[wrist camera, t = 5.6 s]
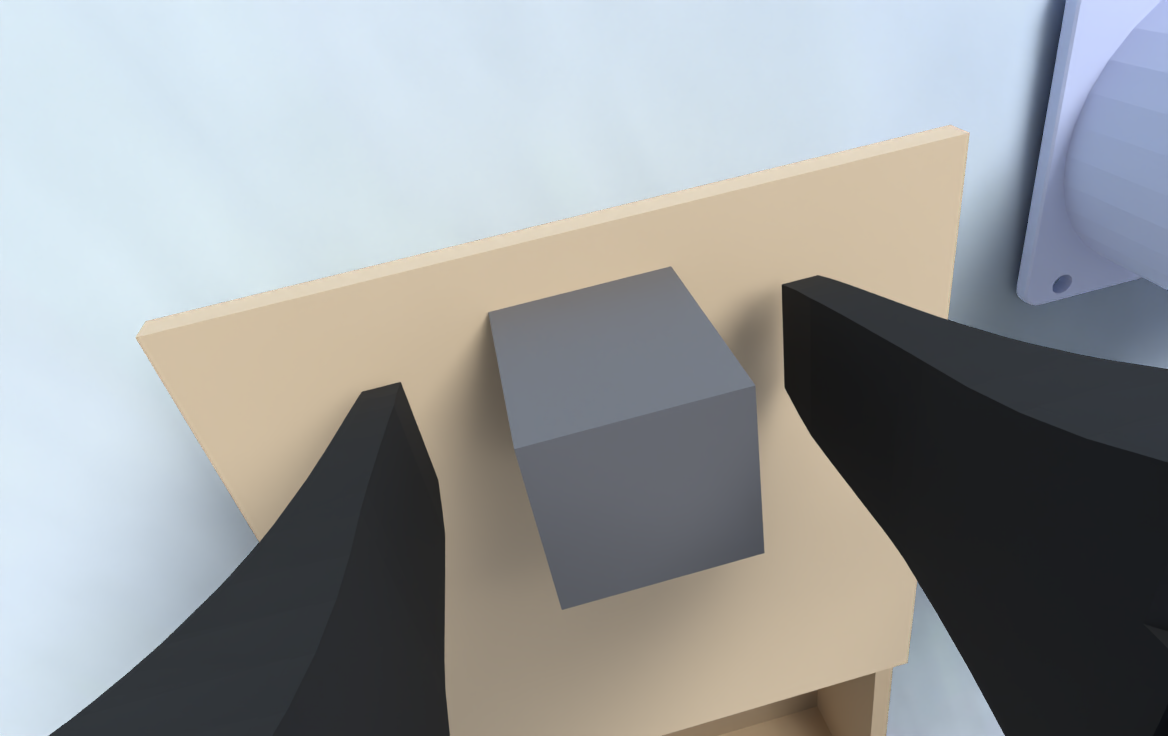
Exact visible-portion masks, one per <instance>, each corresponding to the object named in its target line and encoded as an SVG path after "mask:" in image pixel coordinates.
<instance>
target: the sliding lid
mask: <svg viewBox="0 0 1168 736" xmlns="http://www.w3.org/2000/svg"><path fill="white" fill-rule="evenodd" d="M968 142H969V132H966V131H964V130H962V129H959V128H957V127H954V126H952V125H948V126H943V127H939V128H935V129H931V130H927V131H923V132H919V133H915V134H911V135H907V136H902V137H898V138H894V139H890V140H886V141H882V142H878V143H874V144H870V145H866V146H861V147H857V148H853V149H849V150H845V151H841V152H837V153H833V154H829V155H825V156H821V157H816V158H812V159H808V160H804V161H800V162H796V163H792V164H788V165H784V166H780V167H775V168H771V169H767V170H763V171H759V172H755V173H751V174H747V175H743V176H739V177H735V178H730V179H726V180H722V181H718V182H714V183H710V184H706V185H702V186H698V187H694V188H689V189H685V190H681V191H677V192H673V193H669V194H665V195H661V196H657V197H653V198H649V199H644V200H640V201H636V202H632V203H628V204H624V205H620V206H616V207H612V208H608V209H603V210H599V211H595V212H591V213H587V214H583V215H579V216H575V217H571V218H567V219H563V220H558V221H554V222H550V223H546V224H542V225H538V226H534V227H530V228H526V229H522V230H517V231H513V232H509V233H505V234H501V235H497V236H493V237H489V238H485V239H481V240H477V241H472V242H468V243H464V244H460V245H456V246H452V247H448V248H444V249H440V250H436V251H431V252H427V253H423V254H419V255H415V256H411V257H407V258H403V259H399V260H395V261H391V262H386V263H382V264H378V265H374V266H370V267H366V268H362V269H358V270H354V271H350V272H345V273H341V274H337V275H333V276H329V277H325V278H321V279H317V280H313V281H309V282H305V283H300V284H296V285H292V286H288V287H284V288H280V289H276V290H272V291H268V292H264V293H259V294H255V295H251V296H247V297H243V298H239V299H235V300H231V301H227V302H223V303H219V304H214V305H210V306H206V307H202V308H198V309H194V310H190V311H186V312H182V313H178V314H173V315H169V316H165V317H161V318H157V319H153V320H149V321H146V322H145V323H144V325H143V326H142V328H141V330H140V331H139V333H138V334H137V336H136V339H137V341H138V343H139V344H140V346H141V348H142V349H143V351H144V352H145V354H146V356H147V357H148V359H149V361H150V362H151V364H152V366H153V367H154V369H155V371H156V372H157V374H158V376H159V377H160V379H161V381H162V382H163V384H164V386H165V387H166V389H167V391H168V392H169V394H170V395H171V397H172V399H173V400H174V402H175V404H176V405H177V407H178V409H179V410H180V412H181V414H182V415H183V417H184V419H185V420H186V422H187V424H188V425H189V427H190V429H191V430H192V432H193V434H194V435H195V437H196V438H197V440H198V442H199V443H200V445H201V447H202V448H203V450H204V452H205V453H206V455H207V457H208V458H209V460H210V462H211V463H212V465H213V467H214V468H215V470H216V472H217V473H218V475H219V477H220V478H221V480H222V482H223V483H224V485H225V486H226V488H227V490H228V491H229V493H230V495H231V496H232V498H233V500H234V501H235V503H236V505H237V506H238V508H239V510H240V511H241V513H242V515H243V516H244V518H245V520H246V521H247V523H248V525H249V526H250V528H251V529H252V531H253V533H254V534H255V536H256V538H257V539H258V541H259V542H260V541H261V540H262V538H263V537H264V536H265V535H266V533H267V532H268V531H269V530H270V528H271V527H272V526H273V525H274V523H275V522H276V521H277V519H278V518H279V516H280V515H281V514H282V512H283V511H284V510H285V508H286V507H287V505H288V504H289V503H290V501H291V500H292V499H293V497H294V496H295V494H296V493H297V492H298V490H299V489H300V488H301V486H302V485H303V483H304V482H305V481H306V479H307V478H308V476H309V475H310V473H311V472H312V470H313V469H314V467H315V465H316V464H317V462H318V461H319V459H320V458H321V456H322V455H323V453H324V452H325V450H326V448H327V447H328V445H329V444H330V442H331V440H332V439H333V437H334V436H335V434H336V432H337V431H338V429H339V427H340V426H341V424H342V422H343V421H344V419H345V417H346V416H347V414H348V413H349V411H350V409H351V408H352V406H353V405H354V403H355V401H356V400H357V398H358V397H359V395H360V394H361V392H363V391H366V390H370V389H374V388H378V387H382V386H386V385H390V384H394V383H398V382H401V384H402V386H403V389H404V391H405V394H406V397H407V399H408V402H409V405H410V407H411V410H412V412H413V415H414V418H415V420H416V423H417V425H418V428H419V431H420V433H421V436H422V438H423V441H424V444H425V446H426V449H427V451H428V454H429V457H430V459H431V462H432V465H433V467H434V470H435V472H436V475H437V478H438V481H439V488H440V496H441V503H442V511H443V519H444V528H445V660H444V662H445V689H446V700H447V710H448V721H449V731H450V736H662V735H666V734H669V733H672V732H676V731H679V730H683V729H686V728H689V727H693V726H696V725H699V724H703V723H706V722H710V721H713V720H716V719H720V718H723V717H727V716H730V715H733V714H737V713H740V712H743V711H747V710H750V709H754V708H757V707H760V706H764V705H767V704H771V703H774V702H777V701H781V700H784V699H787V698H791V697H794V696H798V695H801V694H804V693H808V692H811V691H815V690H818V689H821V688H825V687H828V686H831V685H835V684H838V683H842V682H845V681H848V680H852V679H855V678H858V677H862V676H865V675H869V674H872V673H875V672H879V671H882V670H886V669H889V668H892V667H896V666H899V665H902V664H906V663H908V655H909V646H910V638H911V629H912V621H913V612H914V603H915V595H916V586H917V579H916V578H915V576H914V575H913V573H912V571H911V570H910V568H909V566H908V565H907V563H906V561H905V560H904V558H903V557H902V556H901V554H900V553H899V551H898V550H897V548H896V547H895V546H894V544H893V543H892V541H891V540H890V538H889V537H888V536H887V534H886V533H885V532H884V530H883V529H882V528H881V527H880V525H879V524H878V523H877V521H876V520H875V519H874V518H873V516H872V515H871V514H870V512H869V511H868V510H867V508H866V507H865V506H864V505H863V503H862V502H861V501H860V499H859V498H858V497H857V496H856V494H855V493H854V492H853V490H852V489H851V488H850V486H849V485H848V484H847V483H846V481H845V480H844V479H843V477H842V476H841V475H840V474H839V472H838V471H837V470H836V468H835V467H834V466H833V464H832V463H831V462H830V460H829V459H828V458H827V456H826V455H825V454H824V452H823V451H822V450H821V449H820V447H819V446H818V444H817V443H816V442H815V440H814V439H813V438H812V436H811V435H810V433H809V431H808V430H807V428H806V426H805V424H804V423H803V421H802V419H801V418H800V416H799V414H798V412H797V410H796V408H795V407H794V405H793V403H792V401H791V399H790V397H789V395H788V394H787V392H786V390H785V388H784V355H783V319H782V284H785V283H789V282H793V281H797V280H801V279H805V278H809V277H813V276H816V275H820V276H823V277H827V278H831V279H834V280H837V281H840V282H843V283H846V284H849V285H852V286H854V287H857V288H860V289H863V290H866V291H868V292H871V293H874V294H876V295H879V296H882V297H885V298H887V299H890V300H893V301H896V302H898V303H901V304H904V305H907V306H909V307H912V308H915V309H918V310H921V311H923V312H926V313H929V314H932V315H935V316H938V317H941V318H944V319H947V320H948V313H949V304H950V296H951V287H952V279H953V270H954V262H955V253H956V244H957V236H958V227H959V219H960V210H961V202H962V193H963V185H964V176H965V168H966V159H967V150H968Z"/></svg>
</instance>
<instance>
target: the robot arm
mask: <svg viewBox="0 0 1168 736" xmlns="http://www.w3.org/2000/svg"><path fill="white" fill-rule="evenodd" d="M1059 277H1060V278H1059ZM1058 278H1059V280H1058V281H1057V282H1056V283H1055V284H1054V282H1055V281H1056V280H1057V279H1058ZM1140 278H1144V279H1146V280H1148V281H1150V282H1152V283H1154V284H1156V285H1158V286H1160V287H1162V288H1164V289H1165V290H1167V291H1168V0H1066V4H1065V10H1064V16H1063V22H1062V27H1061V33H1060V39H1059V45H1058V51H1057V56H1056V62H1055V68H1054V74H1053V80H1052V85H1051V91H1050V97H1049V103H1048V109H1047V114H1046V120H1045V126H1044V132H1043V138H1042V143H1041V149H1040V155H1039V161H1038V167H1037V172H1036V178H1035V184H1034V190H1033V196H1032V201H1031V207H1030V213H1029V219H1028V225H1027V230H1026V236H1025V242H1024V248H1023V253H1022V259H1021V265H1020V271H1019V277H1018V282H1017V295H1018V296H1019V298H1020V299H1022V300H1023V301H1025V302H1026V303H1028V304H1030V305H1033V306H1034V305H1042V304H1045V303H1049V302H1053V301H1057V300H1060V299H1064V298H1068V297H1072V296H1076V295H1079V294H1083V293H1087V292H1091V291H1095V290H1098V289H1102V288H1106V287H1110V286H1113V285H1117V284H1121V283H1125V282H1129V281H1132V280H1136V279H1140ZM782 319H783V355H784V388H785V390H786V392H787V394H788V395H789V397H790V399H791V401H792V403H793V405H794V407H795V408H796V410H797V412H798V414H799V416H800V418H801V419H802V421H803V423H804V424H805V426H806V428H807V430H808V431H809V433H810V435H811V436H812V438H813V439H814V440H815V442H816V443H817V444H818V446H819V447H820V449H821V450H822V451H823V452H824V454H825V455H826V456H827V458H828V459H829V460H830V462H831V463H832V464H833V466H834V467H835V468H836V470H837V471H838V472H839V474H840V475H841V476H842V477H843V479H844V480H845V481H846V483H847V484H848V485H849V486H850V488H851V489H852V490H853V492H854V493H855V494H856V496H857V497H858V498H859V499H860V501H861V502H862V503H863V505H864V506H865V507H866V508H867V510H868V511H869V512H870V514H871V515H872V516H873V518H874V519H875V520H876V521H877V523H878V524H879V525H880V527H881V528H882V529H883V530H884V532H885V533H886V534H887V536H888V537H889V538H890V540H891V541H892V543H893V544H894V546H895V547H896V548H897V550H898V551H899V553H900V554H901V556H902V557H903V558H904V560H905V561H906V563H907V565H908V566H909V568H910V570H911V571H912V573H913V575H914V576H915V578H916V579H917V581H918V583H919V584H920V586H921V588H922V589H923V591H924V593H925V594H926V596H927V598H928V599H929V601H930V602H931V604H932V606H933V607H934V609H935V611H936V612H937V614H938V616H939V618H940V619H941V621H942V623H943V624H944V626H945V628H946V630H947V631H948V633H949V635H950V637H951V638H952V640H953V642H954V644H955V645H956V647H957V649H958V651H959V652H960V654H961V656H962V658H963V659H964V661H965V663H966V664H967V666H968V668H969V670H970V672H971V673H972V675H973V677H974V679H975V681H976V683H977V685H978V686H979V688H980V690H981V692H982V694H983V696H984V698H985V699H986V701H987V703H988V705H989V707H990V709H991V711H992V712H993V714H994V716H995V718H996V720H997V722H998V724H999V725H1000V727H1001V729H1002V731H1003V733H1004V735H1005V736H1168V369H1163V368H1157V367H1150V366H1144V365H1137V364H1131V363H1125V362H1118V361H1112V360H1106V359H1100V358H1095V357H1090V356H1084V355H1079V354H1074V353H1070V352H1065V351H1061V350H1057V349H1052V348H1048V347H1043V346H1039V345H1034V344H1030V343H1026V342H1022V341H1018V340H1014V339H1010V338H1007V337H1003V336H999V335H996V334H993V333H989V332H986V331H983V330H979V329H976V328H973V327H969V326H966V325H962V324H959V323H956V322H953V321H950V320H947V319H944V318H941V317H938V316H935V315H932V314H929V313H926V312H923V311H921V310H918V309H915V308H912V307H909V306H907V305H904V304H901V303H898V302H896V301H893V300H890V299H887V298H885V297H882V296H879V295H876V294H874V293H871V292H868V291H866V290H863V289H860V288H857V287H854V286H852V285H849V284H846V283H843V282H840V281H837V280H834V279H831V278H827V277H823V276H820V275H816V276H813V277H809V278H805V279H801V280H797V281H793V282H789V283H785V284H782ZM444 660H445V528H444V519H443V511H442V503H441V496H440V488H439V481H438V478H437V475H436V472H435V470H434V467H433V465H432V462H431V459H430V457H429V454H428V451H427V449H426V446H425V444H424V441H423V438H422V436H421V433H420V431H419V428H418V425H417V423H416V420H415V418H414V415H413V412H412V410H411V407H410V405H409V402H408V399H407V397H406V394H405V391H404V389H403V386H402V384H401V382H398V383H394V384H390V385H386V386H382V387H378V388H374V389H370V390H366V391H363V392H361V394H360V395H359V397H358V398H357V400H356V401H355V403H354V405H353V406H352V408H351V409H350V411H349V413H348V414H347V416H346V417H345V419H344V421H343V422H342V424H341V426H340V427H339V429H338V431H337V432H336V434H335V436H334V437H333V439H332V440H331V442H330V444H329V445H328V447H327V448H326V450H325V452H324V453H323V455H322V456H321V458H320V459H319V461H318V462H317V464H316V465H315V467H314V469H313V470H312V472H311V473H310V475H309V476H308V478H307V479H306V481H305V482H304V483H303V485H302V486H301V488H300V489H299V490H298V492H297V493H296V494H295V496H294V497H293V499H292V500H291V501H290V503H289V504H288V505H287V507H286V508H285V510H284V511H283V512H282V514H281V515H280V516H279V518H278V519H277V521H276V522H275V523H274V525H273V526H272V527H271V528H270V530H269V531H268V532H267V533H266V535H265V536H264V537H263V538H262V540H261V541H260V542H259V543H258V544H257V546H256V547H255V548H254V549H253V550H252V551H251V553H250V554H249V555H248V556H247V557H246V558H245V559H244V560H243V562H242V563H241V564H240V565H239V566H238V567H237V568H236V569H235V571H234V572H233V573H232V574H231V575H230V576H229V577H228V578H227V579H226V581H225V582H224V583H223V584H222V585H221V586H220V587H219V588H218V589H217V590H216V591H215V592H214V593H213V594H212V595H211V596H210V597H209V598H208V599H207V600H206V601H205V602H204V603H203V604H202V605H201V606H200V607H199V608H198V609H197V610H196V611H195V612H194V613H193V614H191V615H190V616H189V617H188V618H187V619H186V620H185V621H184V622H183V623H182V624H181V625H180V626H179V627H178V628H177V629H176V630H175V631H174V632H173V633H172V634H171V635H170V636H169V637H168V638H167V639H166V640H165V641H164V642H163V643H161V644H160V645H159V646H158V647H157V648H156V649H155V650H154V651H152V652H151V653H150V654H149V655H148V656H147V657H146V658H144V659H143V660H142V661H141V662H140V663H139V664H138V665H136V666H135V667H134V668H133V669H132V670H131V671H130V672H128V673H127V674H126V675H125V676H124V677H122V678H121V679H120V680H119V681H118V682H116V683H115V684H114V685H113V686H112V687H110V688H109V689H108V690H107V691H106V692H104V693H103V694H102V695H101V696H99V697H98V698H97V699H96V700H95V701H93V702H92V703H91V704H90V705H88V706H87V707H86V708H85V709H83V710H82V711H81V712H79V713H78V714H77V715H76V716H74V717H73V718H72V719H71V720H69V721H68V722H67V723H65V724H64V725H62V726H61V727H60V728H58V729H57V730H56V731H54V732H53V733H52V734H50V735H49V736H450V731H449V721H448V710H447V700H446V689H445V662H444Z"/></svg>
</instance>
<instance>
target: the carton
mask: <svg viewBox="0 0 1168 736" xmlns="http://www.w3.org/2000/svg"><path fill="white" fill-rule="evenodd" d="M892 670H893V667H892V668H889V669H886V670H882V671H879V672H875V673H872V674H869V675H865V676H862V677H858V678H855V679H852V680H848V681H845V682H842V683H838V684H835V685H831V686H828V687H825V688H821V689H818V690H815V691H811V692H808V693H804V694H801V695H798V696H794V697H791V698H787V699H784V700H781V701H777V702H774V703H771V704H767V705H764V706H760V707H757V708H754V709H750V710H747V711H743V712H740V713H737V714H733V715H730V716H727V717H723V718H720V719H716V720H713V721H710V722H706V723H703V724H699V725H696V726H693V727H689V728H686V729H683V730H679V731H676V732H672V733H669V734H666V735H662V736H886V731H887V721H888V711H889V701H890V691H891V680H892Z"/></svg>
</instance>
